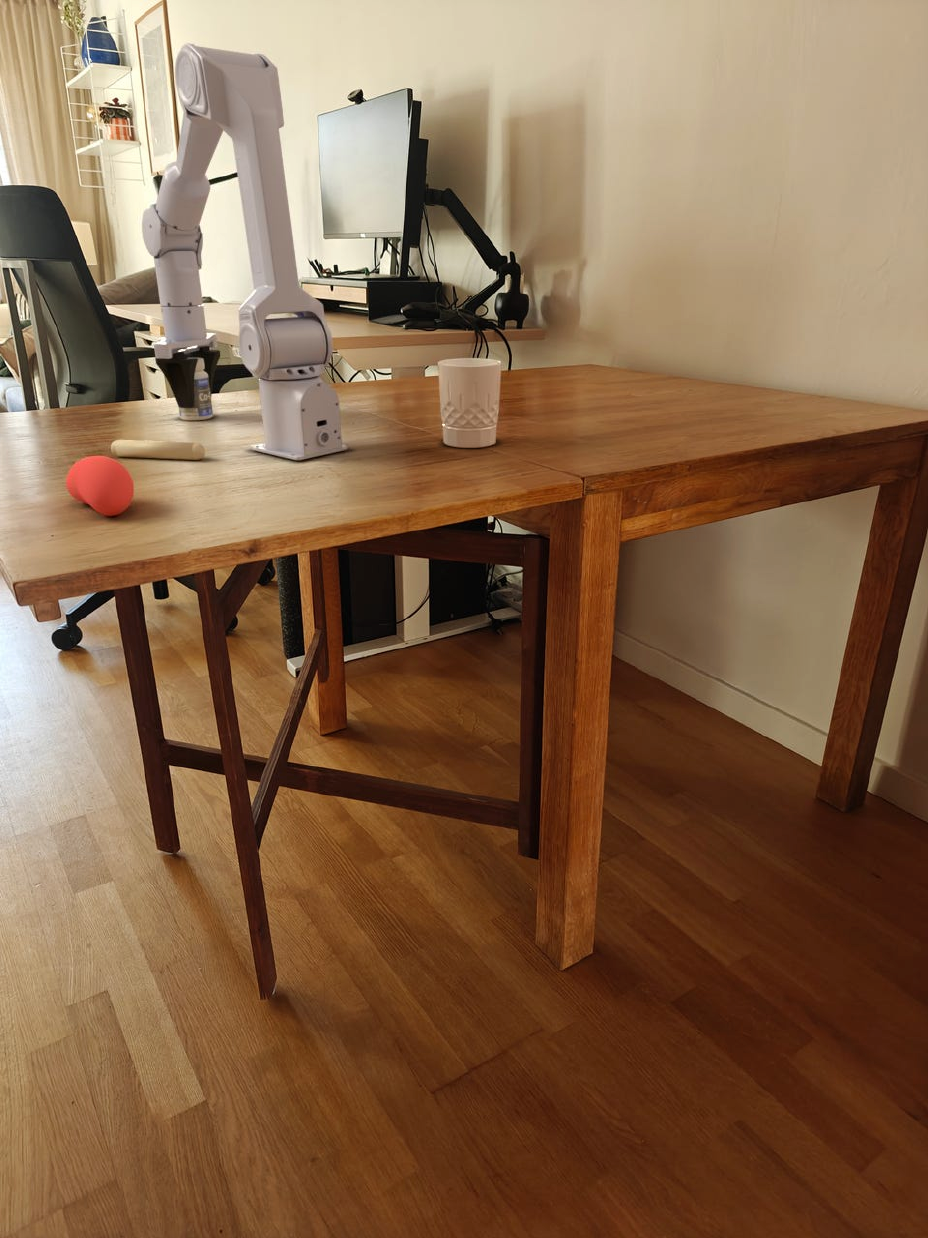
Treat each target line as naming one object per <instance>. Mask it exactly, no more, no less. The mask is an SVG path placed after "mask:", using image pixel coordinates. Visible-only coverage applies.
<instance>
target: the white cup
mask: <svg viewBox="0 0 928 1238" xmlns="http://www.w3.org/2000/svg"><path fill="white" fill-rule="evenodd" d="M437 373H438V392H439V393H438V394H439V404H440V405H439V407H440V416H441V417H440V418H441V419H440V420H441V422H442V438H443V439H442V440H443V444H445V445H446V446H449V447H454V448H462V449H477V448H478V449H479V448H486V447H490V446H492V445H495V444H496V440H497V426H498V424H497V423H498V421H499V410H500V397H501V396H500V395H501V380H502V379H501V378H502V361H501V360H498V359H493V358H484V357H483V358H481V357H480V358H479V357H460V358H459V357H458V358H457V357H456V358H447V359H442V360H439V361H438V362H437Z"/></svg>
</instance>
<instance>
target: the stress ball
mask: <svg viewBox="0 0 928 1238" xmlns="http://www.w3.org/2000/svg"><path fill="white" fill-rule="evenodd" d="M65 487H66V490H67V492H68V493H69V495H70V496H71V497H72V498H73V499H75V500H76V501H78V502H81V503H83V504H87V505H89V506H90V507H91V508H92V509H93V510H94V511H96V512H97V513H99V514H100V515H103V516H107V517H112V516H113V517H114V516H118V515H120V514H123V512H125V511H126V510H127V508H129V506H130V505H131V502H132V500H133V499H134V498H133V497H134V494H135V485H134V480H133V478H132V476H131V474H130V472H129V471H128V469H127V468H126V467H125V466H124V465H123V464H122V463H120V462H119V461H118V460H116V459H114V458H111V457H110V456H109V457H108V456H105V455H92V456H91V455H90V456H85V457H84V458H82V459H79V460H78V461H77V462H75V463H74V464H73V465H72V466H71V468H70V469H69V470H68V471H67V475H66V477H65Z"/></svg>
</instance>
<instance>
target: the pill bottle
mask: <svg viewBox="0 0 928 1238" xmlns="http://www.w3.org/2000/svg"><path fill="white" fill-rule="evenodd" d="M197 359H198V362H197V365H196V369H195V376H194V397H195V401H194V407H193V408H179V406H178V405H177V406H178V413H179V418H180V419H181V420H183V421H204V420H208V419H211V418H213V416H214V411H213V404H212V396H211V394H210V386H209V377H208V374H207V373H206V372H205V371H203V369H205V368H204V367H205V365H204V359H203V358H197Z"/></svg>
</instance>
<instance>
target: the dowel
mask: <svg viewBox="0 0 928 1238" xmlns="http://www.w3.org/2000/svg"><path fill="white" fill-rule="evenodd" d="M110 450H111V452H112V454H113V455H114V456H116V457H120V458H141V459H163V460H164V459H167V460H188V461H189V460H190V461H199V460H202V459H204V457H205V455H206V448H205V447H204V445H203V444H201V443H200V442H189V441H188V442H184V441H162V440H161V441H160V440H137V439H135V440H134V439H116V440H113V441H112V443H111V444H110Z"/></svg>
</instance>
